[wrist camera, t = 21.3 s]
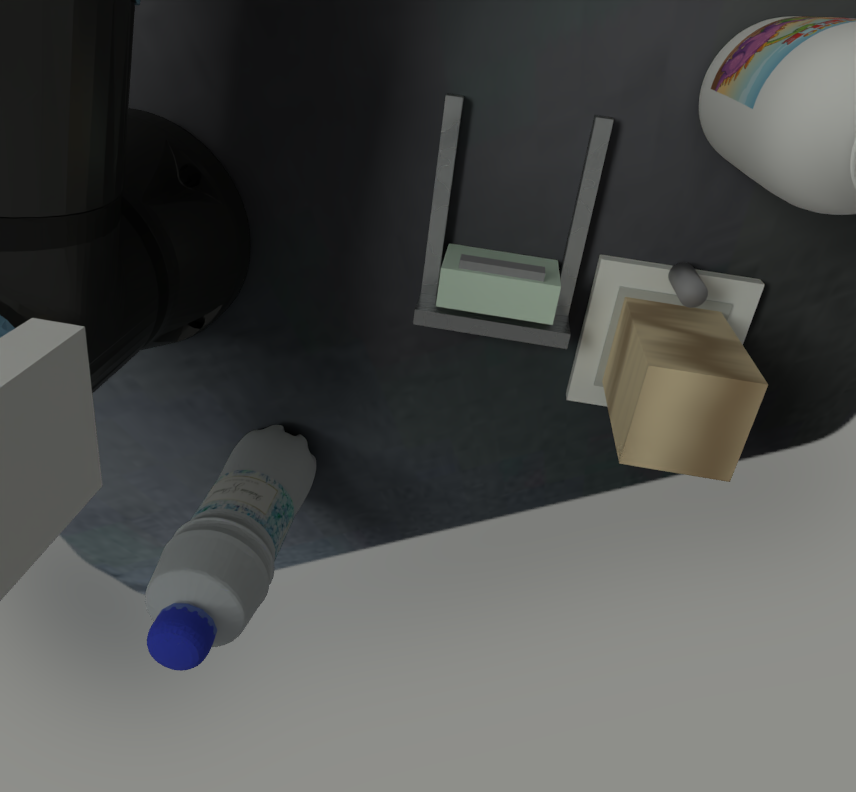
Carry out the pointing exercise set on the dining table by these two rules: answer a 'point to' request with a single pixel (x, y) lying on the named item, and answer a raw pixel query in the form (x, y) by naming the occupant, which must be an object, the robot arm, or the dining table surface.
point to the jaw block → (680, 390)
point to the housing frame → (572, 256)
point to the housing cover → (499, 284)
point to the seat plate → (650, 284)
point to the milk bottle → (788, 109)
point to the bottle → (227, 549)
